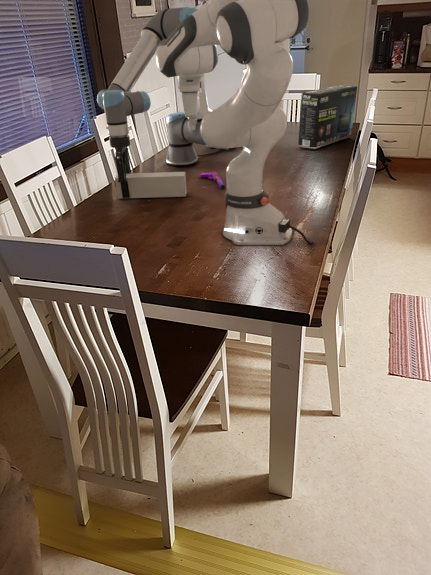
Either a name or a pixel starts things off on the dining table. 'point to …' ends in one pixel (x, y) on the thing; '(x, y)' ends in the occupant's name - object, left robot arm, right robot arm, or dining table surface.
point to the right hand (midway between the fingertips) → (193, 126)
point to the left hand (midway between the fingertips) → (127, 194)
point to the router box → (326, 115)
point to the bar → (154, 185)
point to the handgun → (213, 176)
